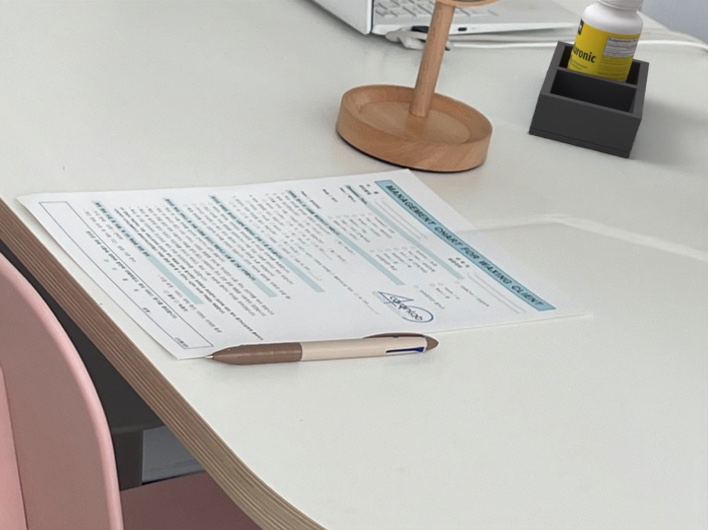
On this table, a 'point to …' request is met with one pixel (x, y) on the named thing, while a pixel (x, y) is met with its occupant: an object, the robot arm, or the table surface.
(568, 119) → the sorting tray
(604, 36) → the supplement bottle
